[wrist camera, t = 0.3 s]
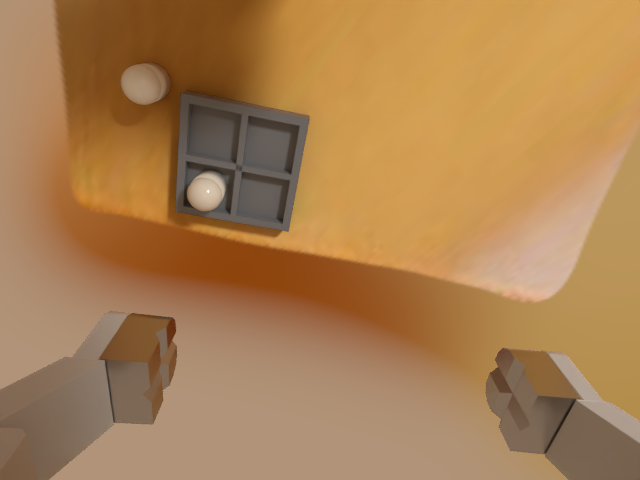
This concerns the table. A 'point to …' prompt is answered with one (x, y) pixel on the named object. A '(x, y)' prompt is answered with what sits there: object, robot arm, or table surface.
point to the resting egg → (207, 190)
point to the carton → (241, 158)
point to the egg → (145, 83)
